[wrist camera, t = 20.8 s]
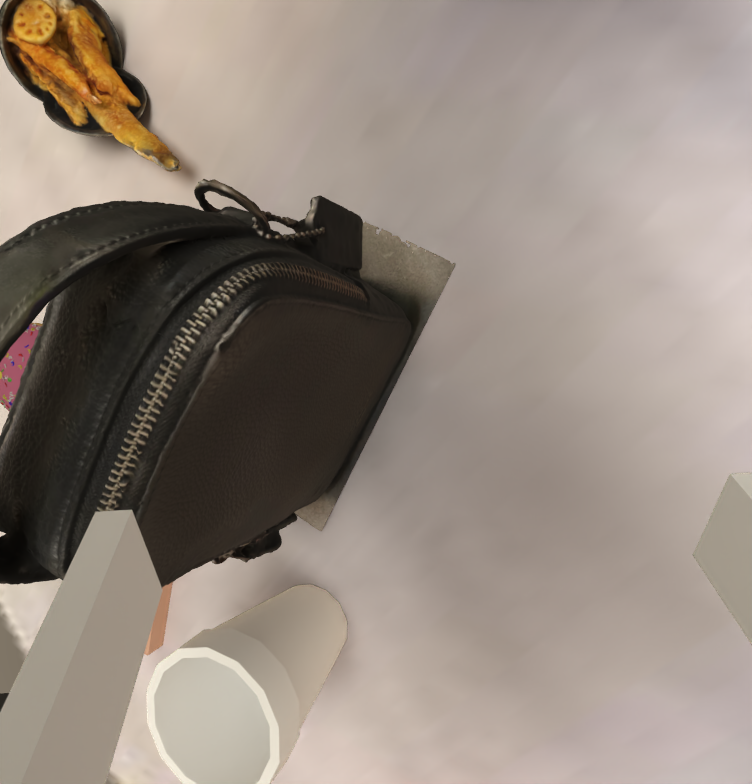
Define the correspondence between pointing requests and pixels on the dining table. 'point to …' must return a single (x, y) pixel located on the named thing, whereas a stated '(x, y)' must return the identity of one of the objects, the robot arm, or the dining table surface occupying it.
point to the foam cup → (245, 688)
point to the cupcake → (16, 364)
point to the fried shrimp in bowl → (78, 71)
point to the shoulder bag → (196, 373)
